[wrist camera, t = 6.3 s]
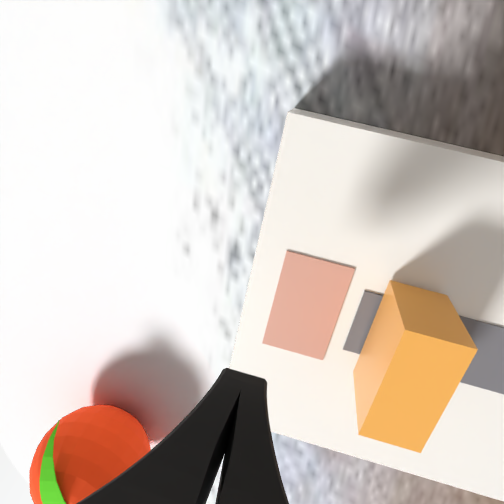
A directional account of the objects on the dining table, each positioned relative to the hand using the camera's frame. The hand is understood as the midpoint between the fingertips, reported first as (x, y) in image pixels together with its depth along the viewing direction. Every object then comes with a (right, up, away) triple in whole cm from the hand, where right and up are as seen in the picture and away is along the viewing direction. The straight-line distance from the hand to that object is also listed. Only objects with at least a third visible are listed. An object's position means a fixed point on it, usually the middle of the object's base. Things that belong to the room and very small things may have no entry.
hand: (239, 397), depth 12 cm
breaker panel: (+11, +1, +8) cm, 14 cm away
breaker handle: (+7, +1, +5) cm, 8 cm away
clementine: (-9, -7, +15) cm, 19 cm away
